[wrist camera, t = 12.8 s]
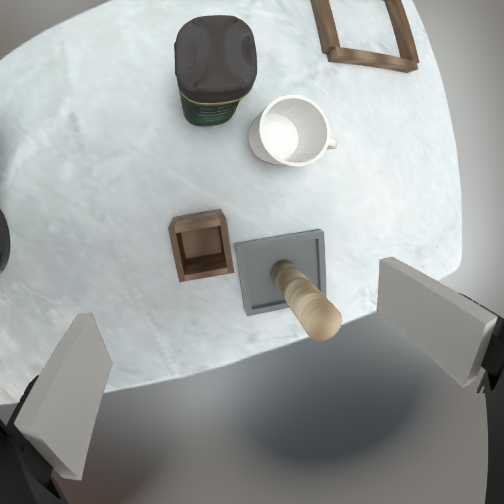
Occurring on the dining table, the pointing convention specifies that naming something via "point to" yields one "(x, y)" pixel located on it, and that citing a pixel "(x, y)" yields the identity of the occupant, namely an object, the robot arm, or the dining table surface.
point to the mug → (291, 132)
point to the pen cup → (201, 245)
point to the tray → (269, 252)
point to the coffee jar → (214, 67)
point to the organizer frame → (365, 57)
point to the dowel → (306, 301)
